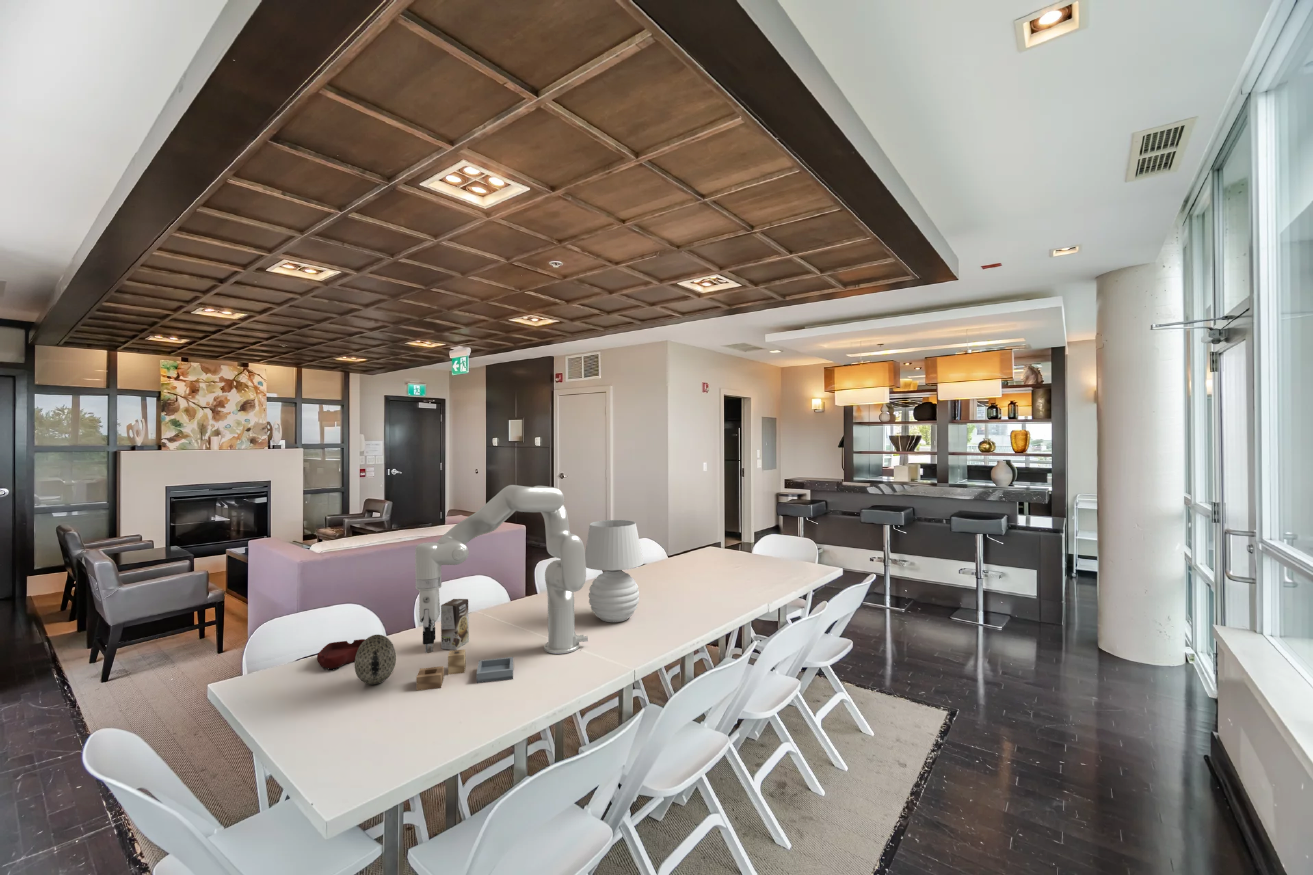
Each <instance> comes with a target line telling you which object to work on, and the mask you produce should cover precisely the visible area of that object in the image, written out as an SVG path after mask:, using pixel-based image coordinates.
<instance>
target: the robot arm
mask: <svg viewBox="0 0 1313 875" xmlns="http://www.w3.org/2000/svg"><path fill="white" fill-rule="evenodd" d="M564 504H565V495H564V493H563V491H562V490H561V489H559V488H557V487H555V486H546V485H535V486H523V485H517V484H509V485H507V486H505V487H504V488H502V489H501V490H500V491H499V492H498V493H497V494H496V495H495V496H493V497H492V498H491V499H490V500H488V502H486V503H485V504H484V505H483V506H482V507H481V508H479V510H477V511H476V512H475V513H473V514H470V515H469V516H468V517H466V518H465V519H463V520H461V521H459V522H458V523H456V524H455V525H454V526H452V528H450V529H449V530H448V531H447V532H446V533H445V534H443V535H442V536H441V537H440V538H439V539H438V540H437V541H436V542H433V541H432V542H430V541H429V542H422V543H418V544H417V545H416V547H415V549H414V550H415V551H414V552H415V555H414V558H415V559H414V560H415V563H414V565H415V567H414V568H415V574H414V575H415V577H414V578H415V590H416V591H419V592H418V593H419V595H418V596H419V597H418V600H419V601H418V602H419V603H418V610H419V611H418V612H419V622H420V623H421V624H422V644H423V645H425V644H433V645H434V643H435V640H436V622H437V621H438V619H439V618H440V616H441V605H440V603H441V602H440V589H441V588H442V566H456V565H460V564H462V563H464V562H465V561H466V560H467V559H468V557H469V554H470V552H469V548H468V546H467V543H469V542H470V541H472V540H473V539H475V538H478V537H480V536H482V535H486V534H488V533H492V532H494V531H495V530H497V529H499V527H500V526H501V525H502V524H503V523H504V522H506V521H507V519H509V518H510V517H511V516H512V515H513V514H514V513H515V512H520V513H523V512H524V513H541V515H542V517H543V520H544V526H545V528H544V529H545V543H546V551H547V553H548V554H549V555H550V556H552V557H553V558H556V559H555V560H552V561H551V562H550V563H549V564H548V565H547V566H546V568H545V572H544V580H545V581H544V582H545V586H546V593H547V594H546V595H547V596H546V597H547V633H548V634H547V635H548V636H547V639H548V640H547V642H546V643H544V646H543V649H544V651H545V652H547V653H549V654H556V655H560V654H561V655H562V654H563V655H564V654H569V653H572V652H575V651H576V650H578V649H579V648H580V642H588V641H589V640H588V635H584V634H580V635H579V634H577V633H576V631H575V630H576V628H575V596H574V595H575V593H576V592H578V591H580V590H581V589H583V587H584V585H585V584H586V580H587V568H586V562H585V550H586V548H585V545H584V542H583V540H582V539H581V538H580V536H578V535H577V534H575V533H571V531H570V530H571V529H570V521H569V516H568V511H567V508H566V507H565V505H564ZM429 619H431V620H429ZM429 623H431V625H430V624H429Z"/></svg>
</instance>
